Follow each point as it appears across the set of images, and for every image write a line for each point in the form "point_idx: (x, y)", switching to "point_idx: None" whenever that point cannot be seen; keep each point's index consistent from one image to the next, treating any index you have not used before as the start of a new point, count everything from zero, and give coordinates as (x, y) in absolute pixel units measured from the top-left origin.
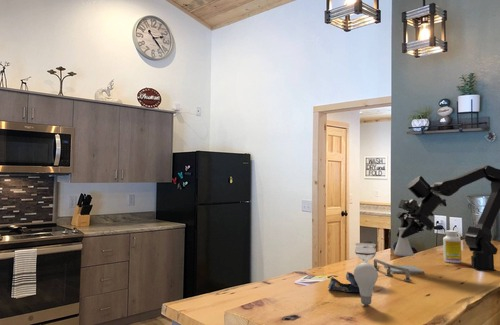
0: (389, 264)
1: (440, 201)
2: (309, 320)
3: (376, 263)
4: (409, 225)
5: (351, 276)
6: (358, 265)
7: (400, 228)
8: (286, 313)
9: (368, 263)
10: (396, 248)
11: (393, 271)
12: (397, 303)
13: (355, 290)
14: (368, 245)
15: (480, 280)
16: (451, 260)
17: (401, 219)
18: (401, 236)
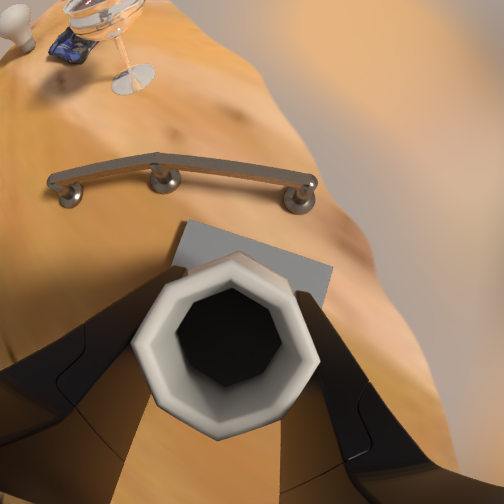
0: (150, 160)
1: None
2: (50, 7)
3: (296, 189)
4: (26, 372)
5: None
6: (15, 4)
7: (201, 276)
8: None
9: (2, 13)
10: (236, 258)
11: (189, 220)
12: (6, 89)
13: (69, 37)
14: (112, 4)
15: None
16: None
17: (480, 495)
18: (171, 266)
